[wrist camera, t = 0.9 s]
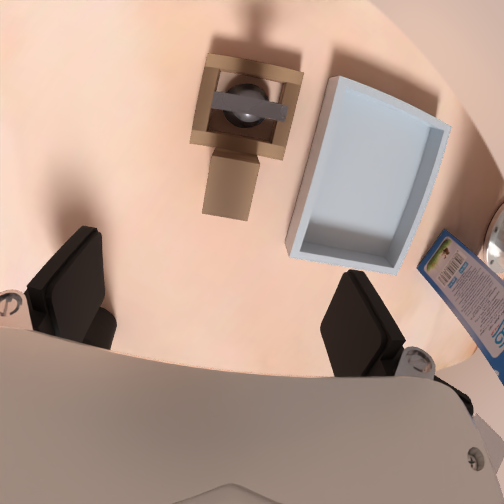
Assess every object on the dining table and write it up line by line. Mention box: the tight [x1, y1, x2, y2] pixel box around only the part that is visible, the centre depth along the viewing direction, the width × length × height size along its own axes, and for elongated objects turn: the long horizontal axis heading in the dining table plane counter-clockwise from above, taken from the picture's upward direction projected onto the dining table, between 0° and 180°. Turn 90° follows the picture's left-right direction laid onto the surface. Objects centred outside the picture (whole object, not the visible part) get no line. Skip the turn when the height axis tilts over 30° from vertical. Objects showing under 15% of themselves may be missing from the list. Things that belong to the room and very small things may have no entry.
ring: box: [190, 53, 304, 221], centre depth 22 cm, size 8×12×6 cm, turn 168°
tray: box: [285, 76, 451, 275], centre depth 26 cm, size 13×17×3 cm
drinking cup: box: [82, 307, 117, 350], centre depth 26 cm, size 8×8×20 cm
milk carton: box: [417, 229, 504, 385], centre depth 24 cm, size 10×6×20 cm, turn 62°
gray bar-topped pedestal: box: [211, 84, 289, 128], centre depth 19 cm, size 4×4×10 cm
